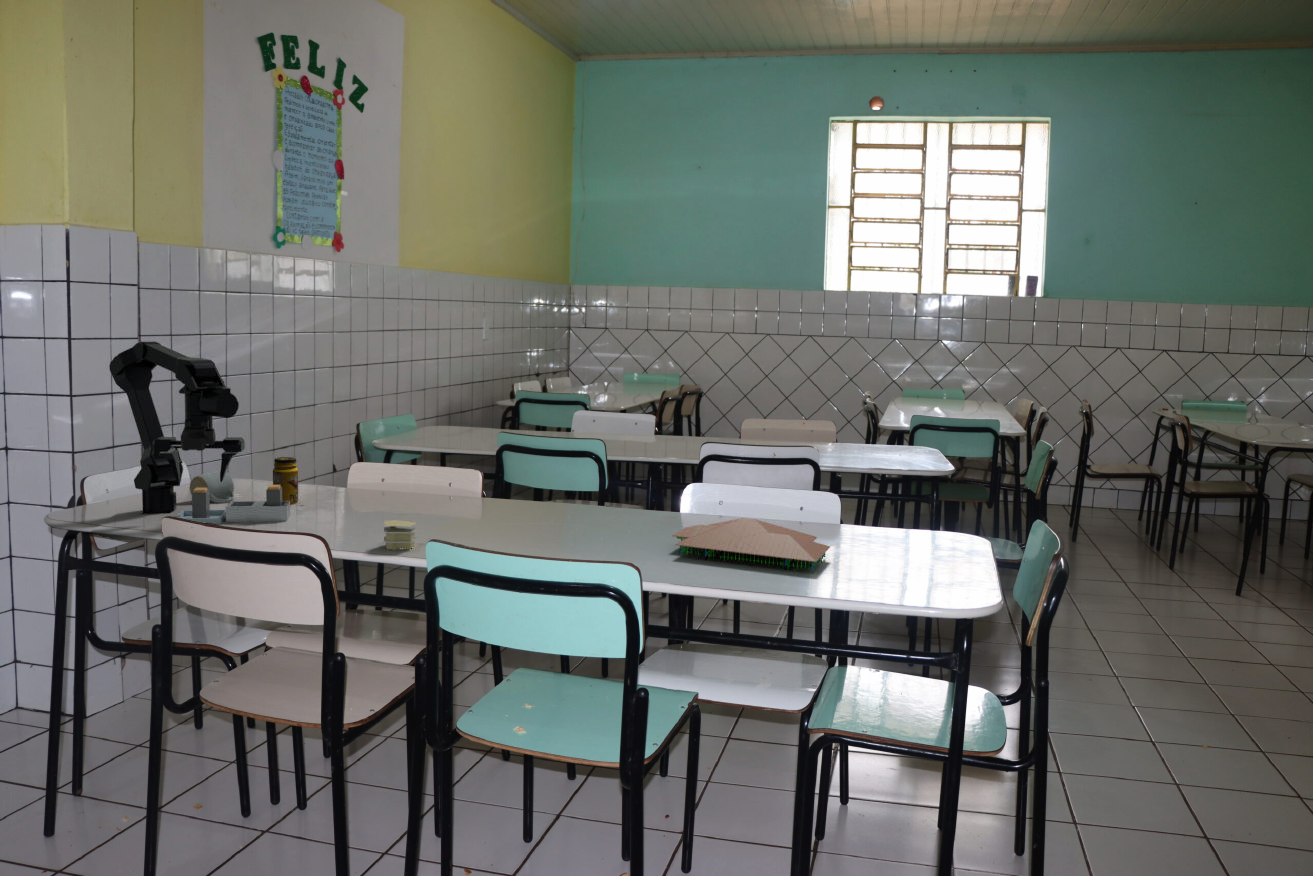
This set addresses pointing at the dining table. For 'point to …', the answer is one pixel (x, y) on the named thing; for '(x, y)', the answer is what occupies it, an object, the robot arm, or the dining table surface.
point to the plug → (200, 503)
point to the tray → (215, 518)
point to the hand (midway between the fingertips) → (200, 481)
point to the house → (753, 541)
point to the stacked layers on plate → (399, 534)
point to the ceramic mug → (215, 486)
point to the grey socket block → (256, 511)
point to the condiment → (286, 478)
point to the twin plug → (274, 495)
